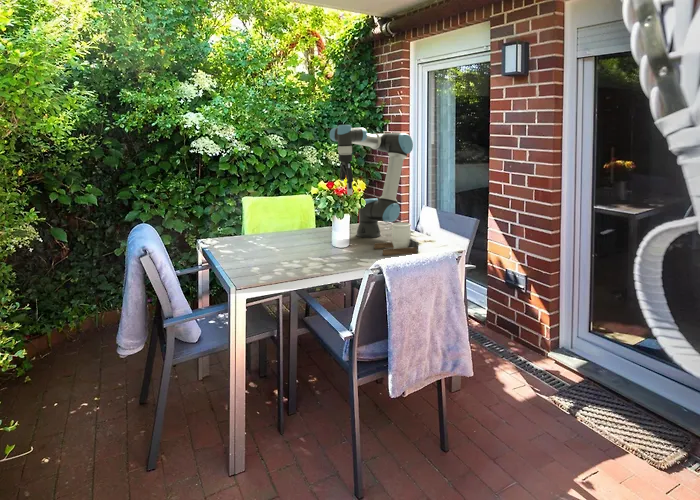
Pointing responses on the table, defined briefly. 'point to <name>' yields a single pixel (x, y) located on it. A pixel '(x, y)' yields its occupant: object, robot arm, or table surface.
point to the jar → (401, 235)
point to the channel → (411, 248)
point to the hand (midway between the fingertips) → (346, 193)
